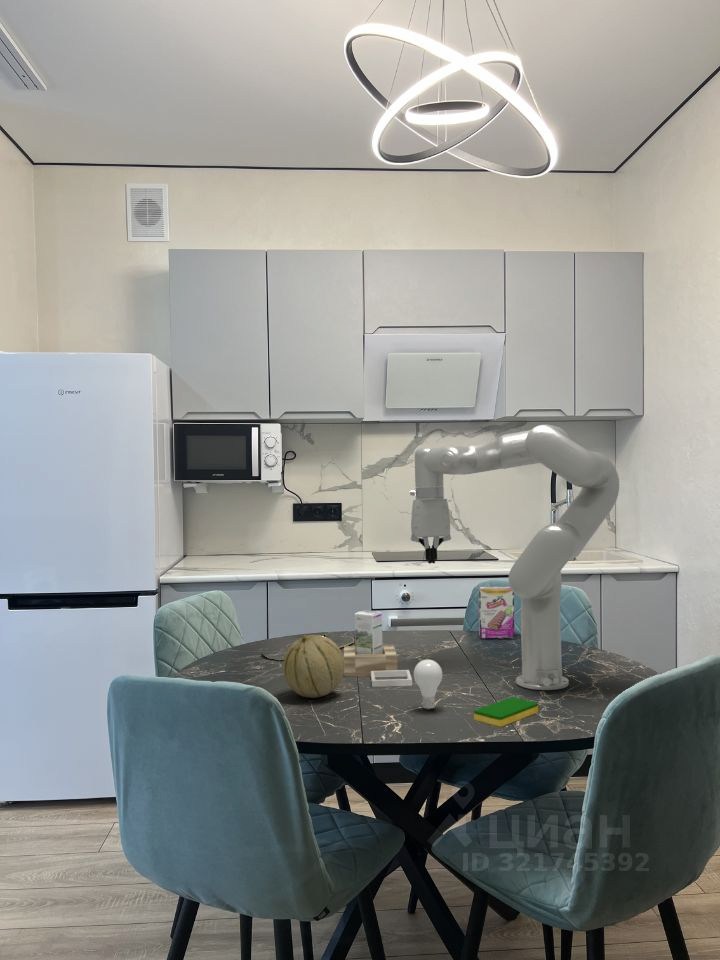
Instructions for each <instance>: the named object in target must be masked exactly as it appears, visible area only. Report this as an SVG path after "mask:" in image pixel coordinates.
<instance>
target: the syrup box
mask: <svg viewBox="0 0 720 960" xmlns="http://www.w3.org/2000/svg"><path fill="white" fill-rule="evenodd" d="M354 643H355V645H354V646H356V655H359V654H383V645H384V644H383V614H382V611H381V610H380V611H378V610H376V611H375V610H366V609H365V610H359V611H357V612H355V613H354Z"/></svg>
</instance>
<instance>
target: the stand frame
mask: <svg viewBox="0 0 720 960" xmlns="http://www.w3.org/2000/svg"><path fill="white" fill-rule="evenodd" d="M393 677H395V679H376V678H393ZM397 677H398V678H397ZM399 677H403V678H399ZM404 677H406V678H404ZM370 679H371V686H372V688H376V687H378V688H379V687H385V688H386V687H413V677H412V675H411V673H410V670H409V669H397V670H387V671H371V676H370Z"/></svg>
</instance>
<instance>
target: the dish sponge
mask: <svg viewBox="0 0 720 960" xmlns="http://www.w3.org/2000/svg"><path fill="white" fill-rule="evenodd" d="M537 713H539V702H535V701H532V700H531V701H530V700H526V699H522V698H517V697H513V696H511V697H508V698H505V699H503V700H500V701H497V702H494V703H491V704H489V705H486V706H483V707H480V708H477V709H474V710H473V720H474V721H475V722H476V721H477V722H480V723H484V724H488V725H492V726H495V727H499V728H500V727H504V726H507V725H509V724H512V723H514V722H517V721H520V720H523V719H525V718H527V717H531V716H533V715H535V714H537Z"/></svg>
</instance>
